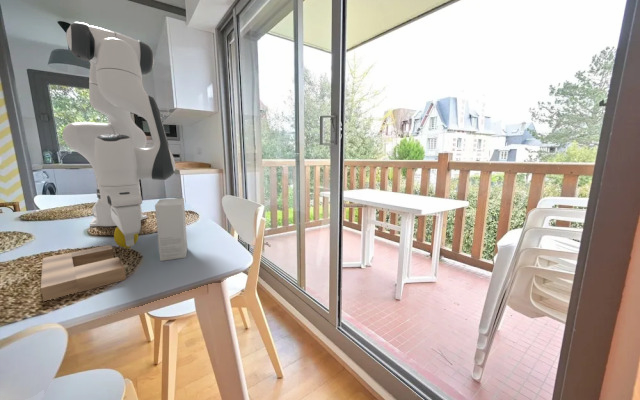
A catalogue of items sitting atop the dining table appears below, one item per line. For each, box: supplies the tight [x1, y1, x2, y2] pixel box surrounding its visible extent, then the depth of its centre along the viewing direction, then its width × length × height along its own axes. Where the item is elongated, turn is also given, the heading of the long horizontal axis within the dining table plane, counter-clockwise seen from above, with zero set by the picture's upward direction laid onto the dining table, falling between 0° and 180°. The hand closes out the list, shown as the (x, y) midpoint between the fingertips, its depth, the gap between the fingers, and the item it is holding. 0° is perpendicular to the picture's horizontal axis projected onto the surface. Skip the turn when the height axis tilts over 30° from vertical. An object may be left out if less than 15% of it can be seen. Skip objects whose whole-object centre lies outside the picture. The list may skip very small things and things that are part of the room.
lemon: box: [113, 226, 139, 250], centre depth 73 cm, size 6×6×8 cm
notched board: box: [40, 244, 127, 302], centre depth 61 cm, size 20×13×3 cm, turn 46°
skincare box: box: [154, 197, 188, 262], centre depth 72 cm, size 8×7×16 cm
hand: (127, 242), depth 74 cm, fingers closed on lemon, 5 cm apart
